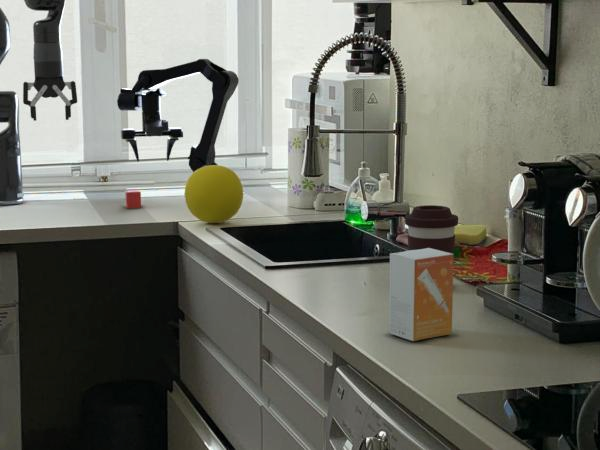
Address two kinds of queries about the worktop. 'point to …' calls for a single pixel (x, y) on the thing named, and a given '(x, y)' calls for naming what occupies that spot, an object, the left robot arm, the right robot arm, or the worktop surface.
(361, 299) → the worktop surface
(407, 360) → the worktop surface
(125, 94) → the right robot arm
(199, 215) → the toy
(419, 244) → the coffee cup
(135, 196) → the red block
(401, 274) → the small box
